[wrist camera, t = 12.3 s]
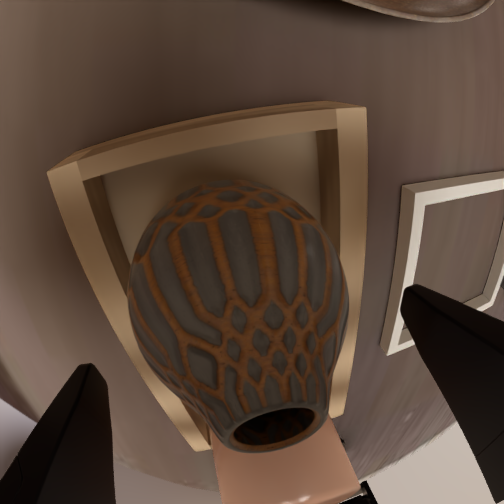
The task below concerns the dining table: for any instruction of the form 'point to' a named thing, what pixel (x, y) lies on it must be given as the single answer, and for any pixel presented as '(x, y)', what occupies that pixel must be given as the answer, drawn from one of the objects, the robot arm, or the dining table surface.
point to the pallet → (208, 170)
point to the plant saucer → (427, 8)
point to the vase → (241, 311)
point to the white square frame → (409, 243)
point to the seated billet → (287, 472)
